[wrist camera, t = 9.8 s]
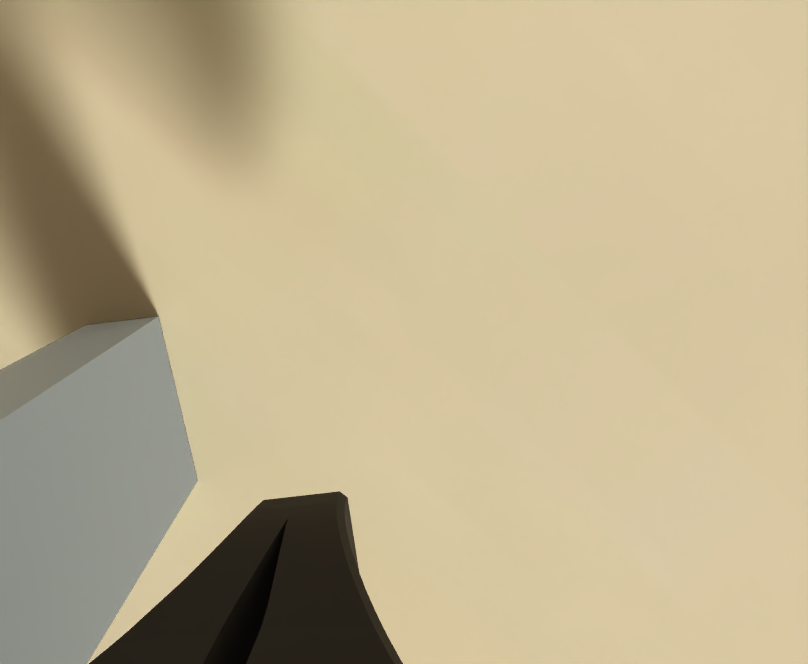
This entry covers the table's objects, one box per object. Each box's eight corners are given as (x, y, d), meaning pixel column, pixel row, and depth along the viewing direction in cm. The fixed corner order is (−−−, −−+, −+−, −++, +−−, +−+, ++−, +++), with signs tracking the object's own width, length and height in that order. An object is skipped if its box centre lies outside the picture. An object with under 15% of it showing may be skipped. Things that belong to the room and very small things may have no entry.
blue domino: (197, 480, 17) (3, 800, 9) (130, 488, 17) (-132, 816, 9) (158, 316, 16) (-120, 500, 7) (85, 325, 16) (-282, 518, 7)
